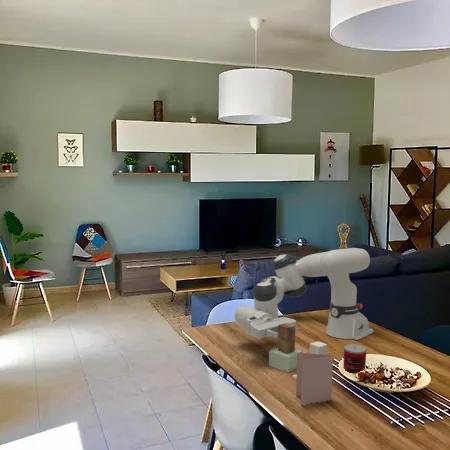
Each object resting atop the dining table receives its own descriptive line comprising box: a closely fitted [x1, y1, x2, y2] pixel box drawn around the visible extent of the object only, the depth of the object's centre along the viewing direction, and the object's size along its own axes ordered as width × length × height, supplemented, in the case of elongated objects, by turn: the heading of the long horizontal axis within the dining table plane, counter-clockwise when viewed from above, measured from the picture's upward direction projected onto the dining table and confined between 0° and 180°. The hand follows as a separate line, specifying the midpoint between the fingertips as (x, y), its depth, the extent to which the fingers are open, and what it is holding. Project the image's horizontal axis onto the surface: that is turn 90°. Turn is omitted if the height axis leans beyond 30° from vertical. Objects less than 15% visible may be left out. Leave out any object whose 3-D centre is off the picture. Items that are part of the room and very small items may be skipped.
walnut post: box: [277, 323, 297, 354], centre depth 190 cm, size 4×4×10 cm
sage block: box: [268, 347, 304, 373], centre depth 191 cm, size 9×9×6 cm
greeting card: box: [295, 352, 334, 406], centre depth 161 cm, size 11×7×15 cm, turn 77°
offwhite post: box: [309, 341, 328, 355], centre depth 186 cm, size 4×4×10 cm
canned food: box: [343, 343, 367, 373], centre depth 180 cm, size 8×8×11 cm
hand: (287, 332), depth 189 cm, fingers open, 8 cm apart
